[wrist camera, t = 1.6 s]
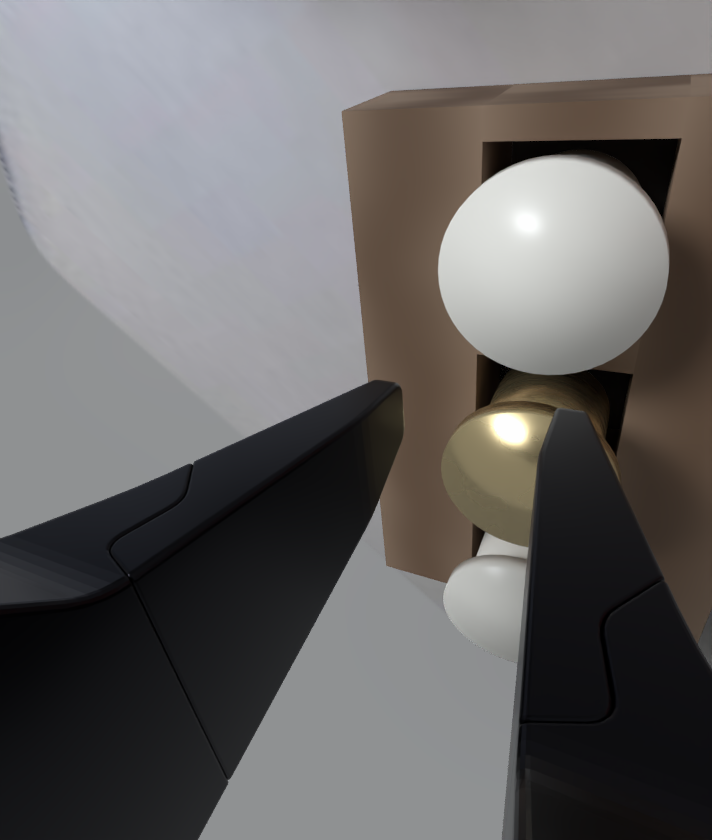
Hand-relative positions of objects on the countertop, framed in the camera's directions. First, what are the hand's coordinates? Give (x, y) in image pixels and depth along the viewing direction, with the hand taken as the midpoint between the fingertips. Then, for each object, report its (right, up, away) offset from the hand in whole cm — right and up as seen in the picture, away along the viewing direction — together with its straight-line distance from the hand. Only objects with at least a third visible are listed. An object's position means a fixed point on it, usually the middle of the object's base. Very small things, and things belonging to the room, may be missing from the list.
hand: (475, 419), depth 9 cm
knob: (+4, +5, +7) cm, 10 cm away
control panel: (+6, +2, +12) cm, 13 cm away
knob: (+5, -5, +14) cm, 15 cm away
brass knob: (+5, 0, +10) cm, 11 cm away
